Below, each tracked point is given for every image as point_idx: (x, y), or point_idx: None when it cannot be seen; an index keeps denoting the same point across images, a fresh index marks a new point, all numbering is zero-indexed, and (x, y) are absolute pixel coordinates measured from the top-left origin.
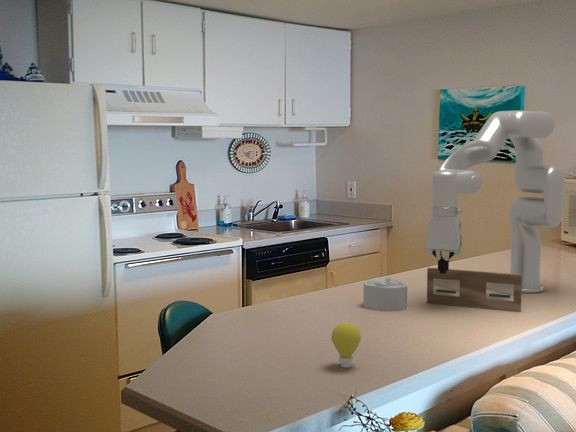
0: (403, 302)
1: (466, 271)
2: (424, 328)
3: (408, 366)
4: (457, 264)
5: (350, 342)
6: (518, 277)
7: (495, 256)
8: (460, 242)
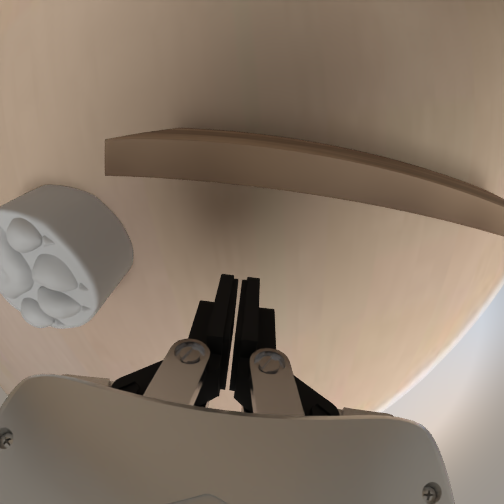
0: (119, 281)
1: (397, 209)
2: (229, 400)
3: None
4: None
5: None
6: None
7: None
8: (439, 473)
